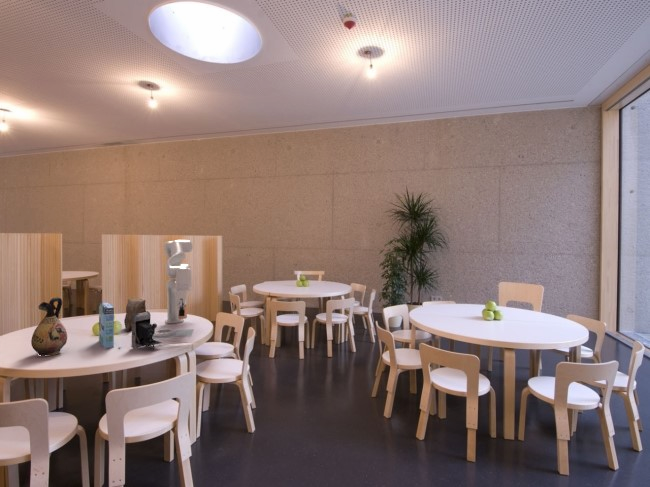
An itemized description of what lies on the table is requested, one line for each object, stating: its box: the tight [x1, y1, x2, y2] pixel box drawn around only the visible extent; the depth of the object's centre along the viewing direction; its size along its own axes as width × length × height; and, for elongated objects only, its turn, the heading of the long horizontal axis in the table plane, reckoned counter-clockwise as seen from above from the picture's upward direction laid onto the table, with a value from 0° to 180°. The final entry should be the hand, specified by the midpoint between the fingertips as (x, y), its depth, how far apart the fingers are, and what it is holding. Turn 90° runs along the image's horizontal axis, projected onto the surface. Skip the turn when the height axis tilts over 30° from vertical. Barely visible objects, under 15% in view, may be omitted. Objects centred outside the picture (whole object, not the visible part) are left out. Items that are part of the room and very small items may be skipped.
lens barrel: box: [153, 328, 177, 337], centre depth 230 cm, size 13×13×2 cm
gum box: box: [98, 302, 115, 349], centre depth 214 cm, size 20×5×23 cm, turn 39°
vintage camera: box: [131, 310, 162, 351], centre depth 206 cm, size 10×16×20 cm, turn 58°
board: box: [152, 328, 195, 340], centre depth 231 cm, size 18×24×2 cm
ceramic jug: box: [30, 296, 68, 357], centre depth 196 cm, size 17×15×30 cm
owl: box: [124, 298, 147, 333], centre depth 249 cm, size 13×13×20 cm
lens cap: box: [178, 306, 188, 320], centre depth 233 cm, size 7×5×7 cm
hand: (182, 314), depth 233 cm, fingers closed on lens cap, 6 cm apart
